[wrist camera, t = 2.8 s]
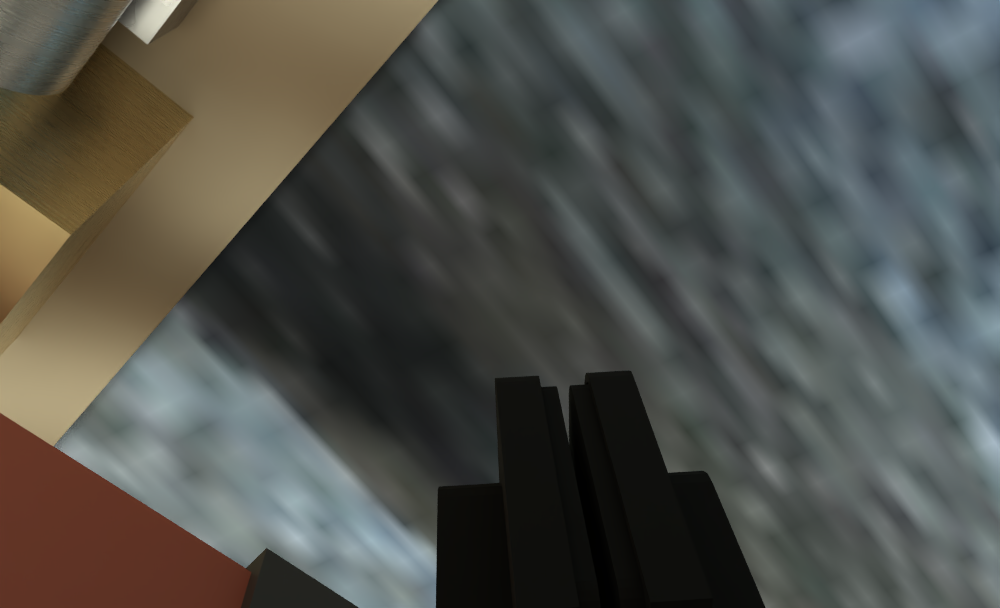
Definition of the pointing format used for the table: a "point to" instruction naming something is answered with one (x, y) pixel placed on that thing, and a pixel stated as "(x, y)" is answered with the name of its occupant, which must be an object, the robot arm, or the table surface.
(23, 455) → the valve lever
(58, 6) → the pipe valve
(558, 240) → the table surface
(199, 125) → the mounting board
